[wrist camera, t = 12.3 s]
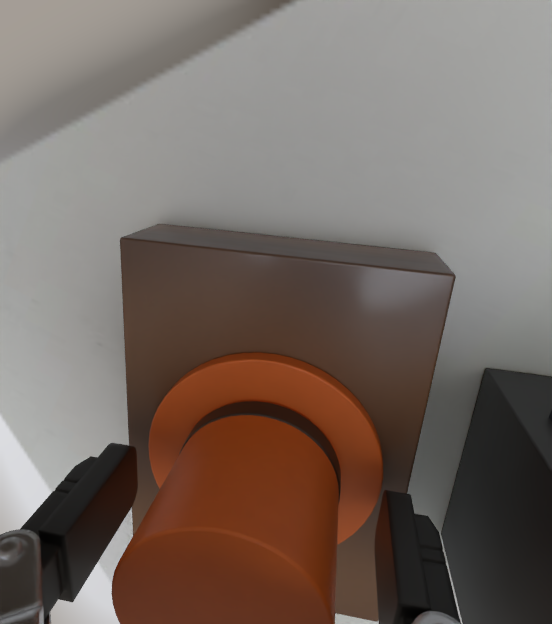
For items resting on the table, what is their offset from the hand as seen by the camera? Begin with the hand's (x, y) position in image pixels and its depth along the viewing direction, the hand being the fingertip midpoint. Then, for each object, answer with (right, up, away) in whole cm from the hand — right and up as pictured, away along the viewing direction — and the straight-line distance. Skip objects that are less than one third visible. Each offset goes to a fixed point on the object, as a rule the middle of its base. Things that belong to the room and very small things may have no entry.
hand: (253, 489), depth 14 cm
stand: (+1, +2, +4) cm, 5 cm away
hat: (0, 0, +2) cm, 2 cm away
